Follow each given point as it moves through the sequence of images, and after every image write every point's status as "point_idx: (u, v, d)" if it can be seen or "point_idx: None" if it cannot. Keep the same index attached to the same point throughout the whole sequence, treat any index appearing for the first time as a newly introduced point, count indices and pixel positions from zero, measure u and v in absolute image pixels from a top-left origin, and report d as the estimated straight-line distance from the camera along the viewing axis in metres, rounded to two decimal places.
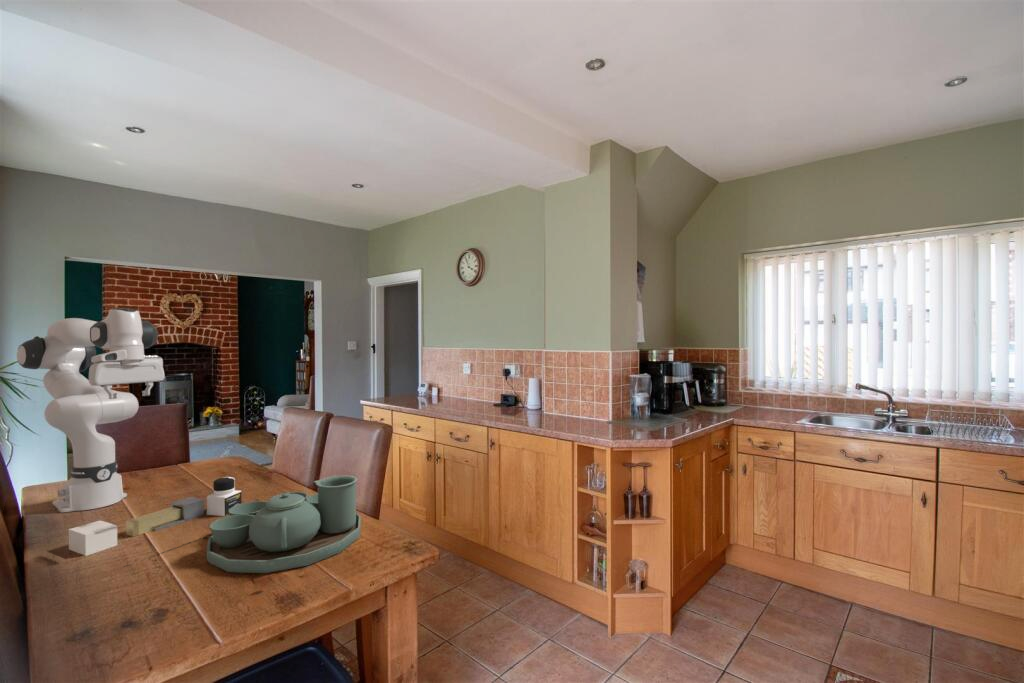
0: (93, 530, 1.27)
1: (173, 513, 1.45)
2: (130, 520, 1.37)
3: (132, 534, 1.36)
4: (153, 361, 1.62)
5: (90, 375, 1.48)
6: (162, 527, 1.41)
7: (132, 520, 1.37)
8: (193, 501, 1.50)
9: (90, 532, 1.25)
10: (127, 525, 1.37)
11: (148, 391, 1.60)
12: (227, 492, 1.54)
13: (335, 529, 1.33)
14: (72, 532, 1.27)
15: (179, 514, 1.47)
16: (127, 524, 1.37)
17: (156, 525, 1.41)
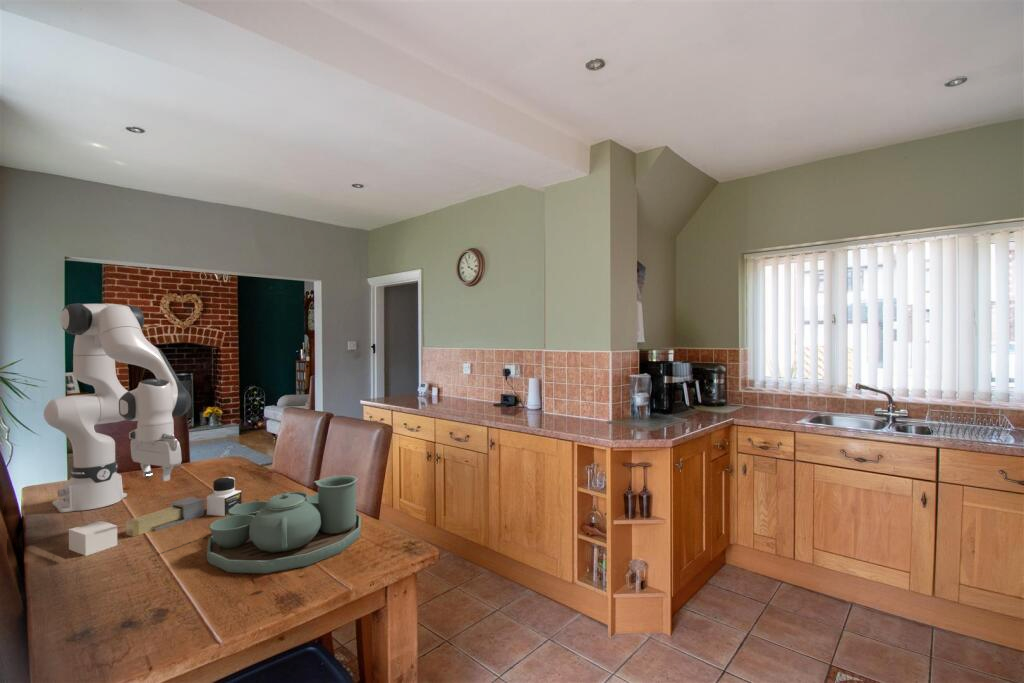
0: (93, 530, 1.27)
1: (173, 513, 1.45)
2: (130, 520, 1.37)
3: (132, 534, 1.36)
4: (162, 443, 1.38)
5: None
6: (162, 527, 1.41)
7: (132, 520, 1.37)
8: (193, 501, 1.50)
9: (90, 532, 1.25)
10: (127, 525, 1.37)
11: (162, 476, 1.40)
12: (227, 492, 1.54)
13: (335, 529, 1.33)
14: (72, 532, 1.27)
15: (179, 514, 1.47)
16: (127, 524, 1.37)
17: (156, 525, 1.41)
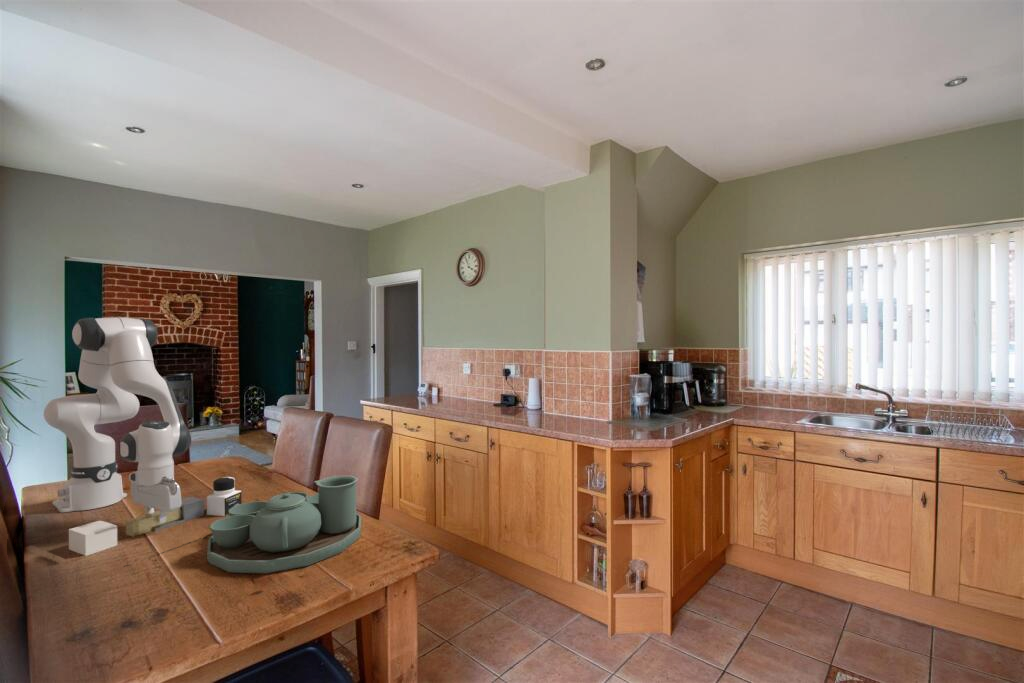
0: (93, 530, 1.27)
1: (173, 513, 1.45)
2: (130, 520, 1.37)
3: (132, 534, 1.36)
4: (162, 487, 1.38)
5: None
6: (162, 527, 1.41)
7: (132, 520, 1.37)
8: (193, 501, 1.50)
9: (90, 532, 1.25)
10: (127, 525, 1.37)
11: (158, 518, 1.41)
12: (227, 492, 1.54)
13: (336, 529, 1.33)
14: (72, 532, 1.27)
15: (179, 514, 1.47)
16: (127, 524, 1.37)
17: (156, 525, 1.41)
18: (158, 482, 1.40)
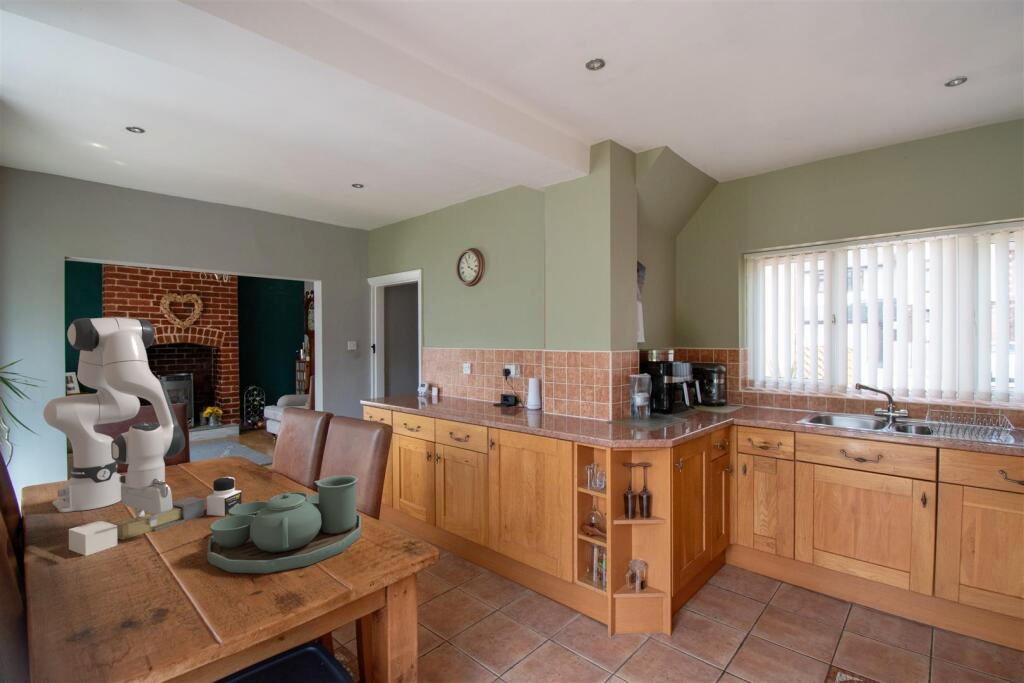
0: (93, 530, 1.27)
1: (164, 516, 1.43)
2: (120, 523, 1.35)
3: (122, 537, 1.34)
4: (152, 490, 1.36)
5: None
6: (162, 527, 1.41)
7: (122, 523, 1.35)
8: (193, 501, 1.50)
9: (90, 532, 1.25)
10: (117, 528, 1.35)
11: (149, 521, 1.38)
12: (227, 492, 1.54)
13: (336, 529, 1.33)
14: (72, 532, 1.27)
15: (170, 517, 1.44)
16: (117, 527, 1.35)
17: (146, 528, 1.39)
18: (148, 484, 1.37)
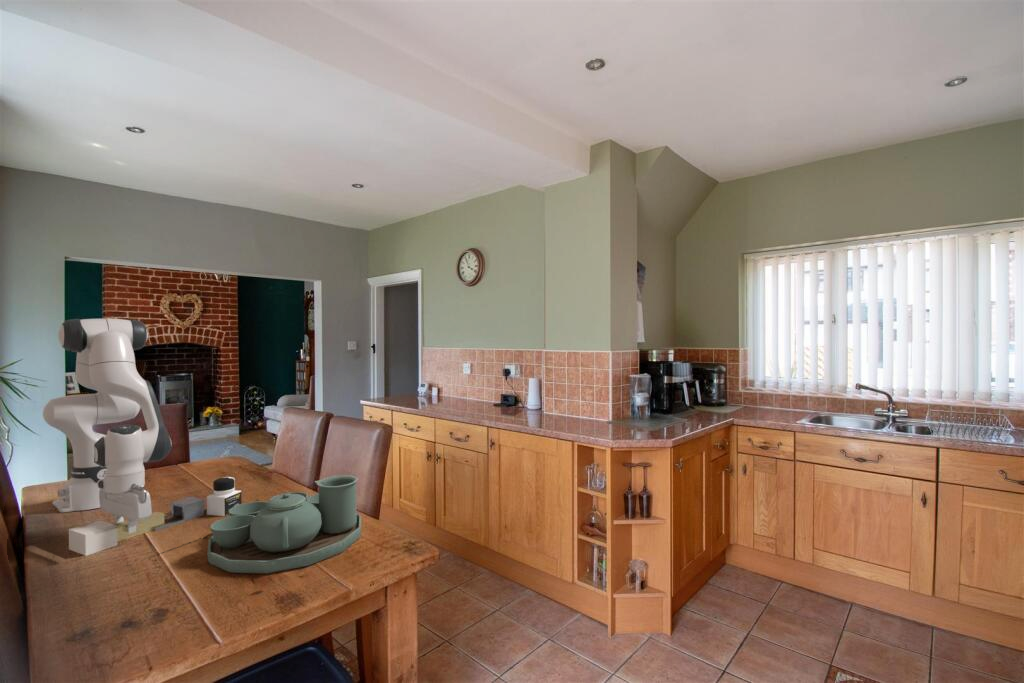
0: (93, 530, 1.27)
1: (144, 522, 1.38)
2: None
3: None
4: (131, 495, 1.31)
5: None
6: (162, 527, 1.41)
7: None
8: (193, 501, 1.50)
9: (90, 532, 1.25)
10: None
11: (127, 528, 1.33)
12: (227, 492, 1.54)
13: (336, 529, 1.33)
14: (72, 532, 1.27)
15: (150, 523, 1.39)
16: None
17: (125, 535, 1.34)
18: (127, 490, 1.32)
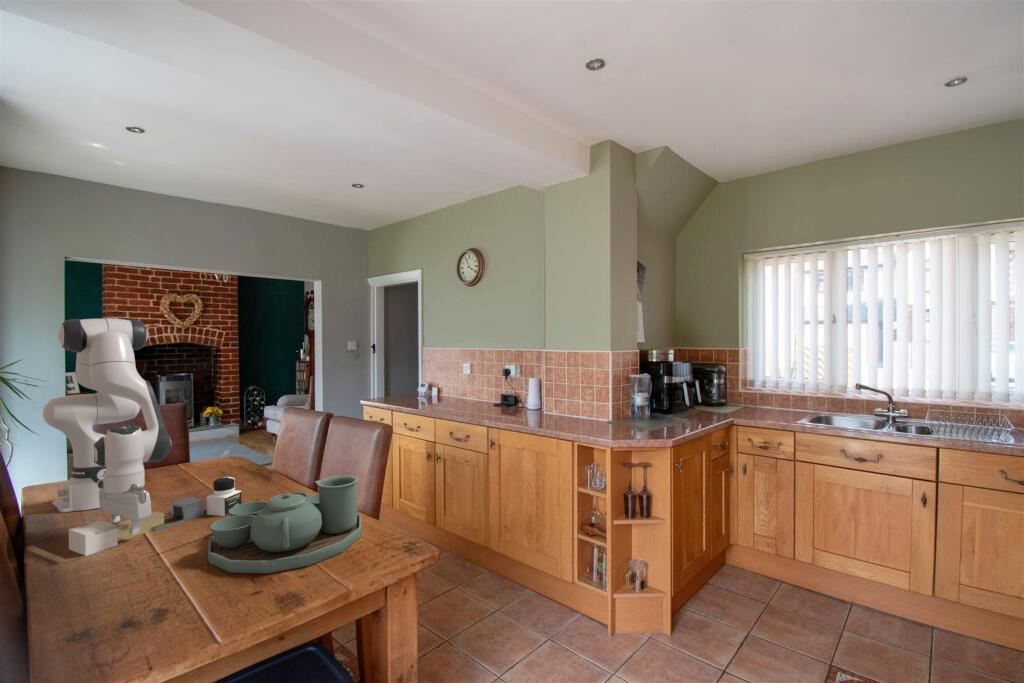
0: (93, 530, 1.27)
1: (143, 522, 1.38)
2: None
3: None
4: (130, 495, 1.31)
5: None
6: (162, 527, 1.41)
7: None
8: (193, 501, 1.50)
9: (90, 532, 1.25)
10: None
11: (131, 529, 1.33)
12: (227, 492, 1.54)
13: (336, 529, 1.33)
14: (72, 532, 1.27)
15: (150, 523, 1.39)
16: None
17: (125, 535, 1.34)
18: (126, 490, 1.32)
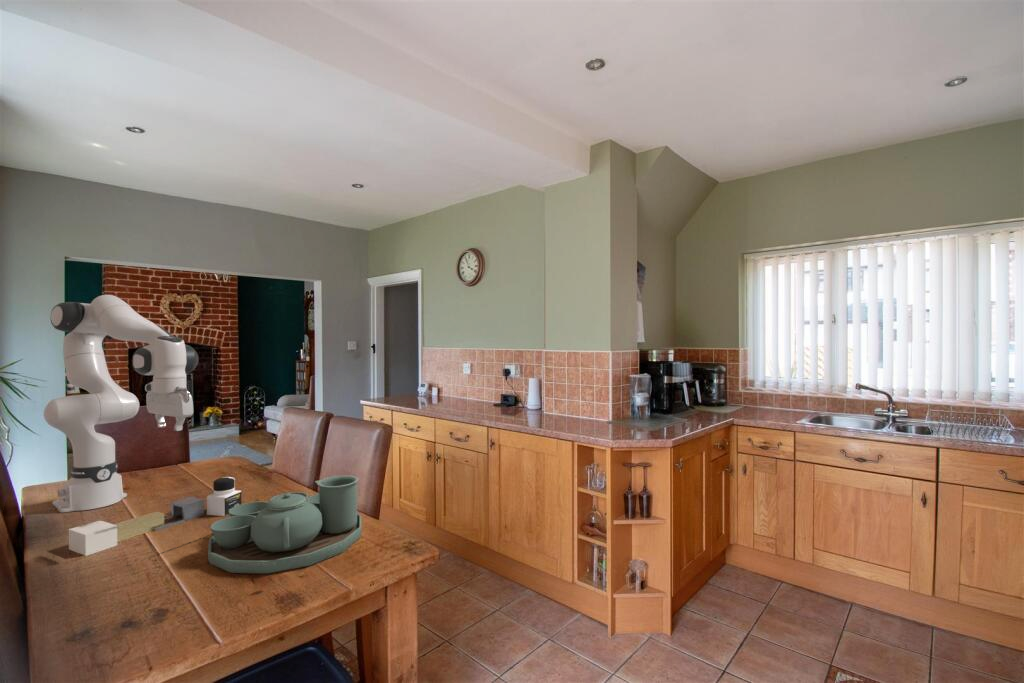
0: (93, 530, 1.27)
1: (143, 522, 1.38)
2: None
3: None
4: (175, 395, 1.48)
5: None
6: (162, 527, 1.41)
7: None
8: (193, 501, 1.50)
9: (90, 532, 1.25)
10: None
11: (175, 426, 1.50)
12: (227, 492, 1.54)
13: (337, 529, 1.33)
14: (72, 532, 1.27)
15: (150, 523, 1.39)
16: None
17: (125, 535, 1.34)
18: (172, 391, 1.49)
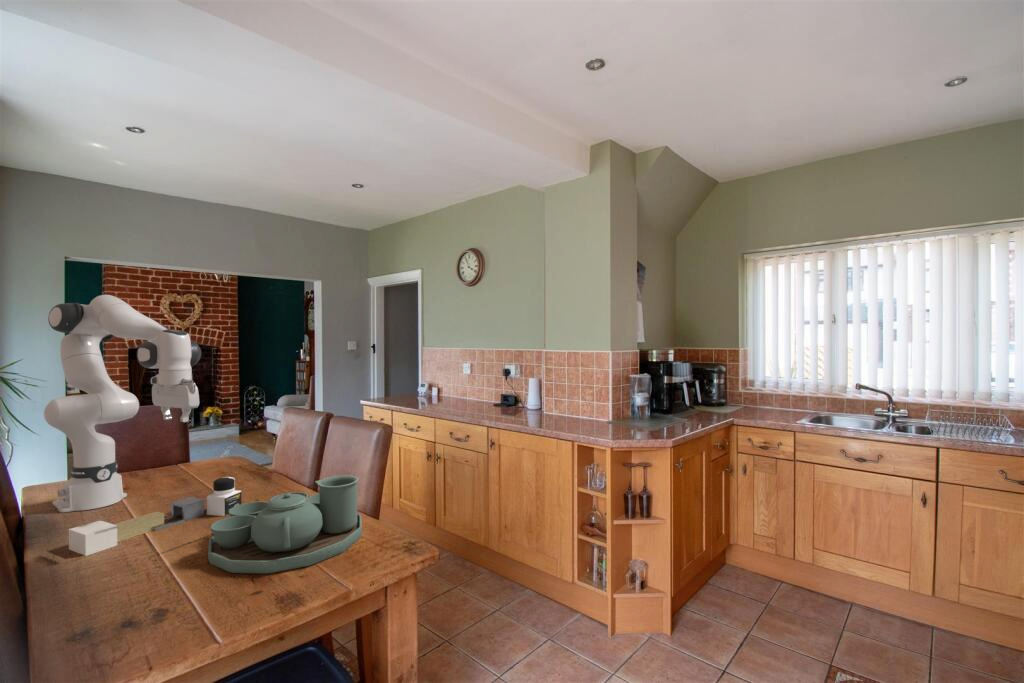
0: (93, 530, 1.27)
1: (143, 522, 1.38)
2: None
3: None
4: (182, 387, 1.51)
5: None
6: (162, 527, 1.41)
7: None
8: (193, 501, 1.50)
9: (90, 532, 1.25)
10: None
11: (182, 418, 1.52)
12: (227, 492, 1.54)
13: (337, 529, 1.33)
14: (72, 532, 1.27)
15: (150, 523, 1.39)
16: None
17: (125, 535, 1.34)
18: (178, 383, 1.52)
